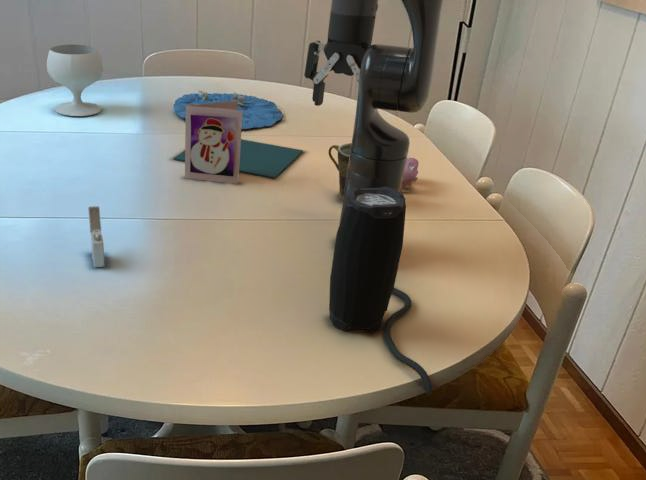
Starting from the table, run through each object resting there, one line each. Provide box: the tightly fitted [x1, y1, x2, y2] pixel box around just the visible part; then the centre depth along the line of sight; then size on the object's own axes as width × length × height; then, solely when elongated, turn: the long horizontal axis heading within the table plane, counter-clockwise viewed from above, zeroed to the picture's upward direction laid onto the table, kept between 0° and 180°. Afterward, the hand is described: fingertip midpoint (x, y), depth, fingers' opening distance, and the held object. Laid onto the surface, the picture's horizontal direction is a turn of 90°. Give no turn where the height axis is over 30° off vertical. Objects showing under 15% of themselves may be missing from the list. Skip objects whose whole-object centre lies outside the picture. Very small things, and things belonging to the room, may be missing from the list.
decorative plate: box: [173, 90, 283, 130], centre depth 190 cm, size 30×30×5 cm
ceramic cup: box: [328, 142, 352, 202], centre depth 143 cm, size 13×10×10 cm
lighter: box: [87, 206, 106, 268], centre depth 116 cm, size 7×2×8 cm, turn 13°
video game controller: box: [401, 155, 419, 190], centre depth 151 cm, size 10×5×7 cm, turn 168°
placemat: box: [173, 138, 304, 180], centre depth 163 cm, size 20×24×1 cm
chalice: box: [46, 44, 104, 117], centre depth 182 cm, size 14×14×15 cm
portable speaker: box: [328, 187, 407, 333], centre depth 100 cm, size 9×9×20 cm
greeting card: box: [184, 101, 243, 185], centre depth 148 cm, size 11×7×15 cm, turn 80°
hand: (340, 109), depth 127 cm, fingers open, 8 cm apart
